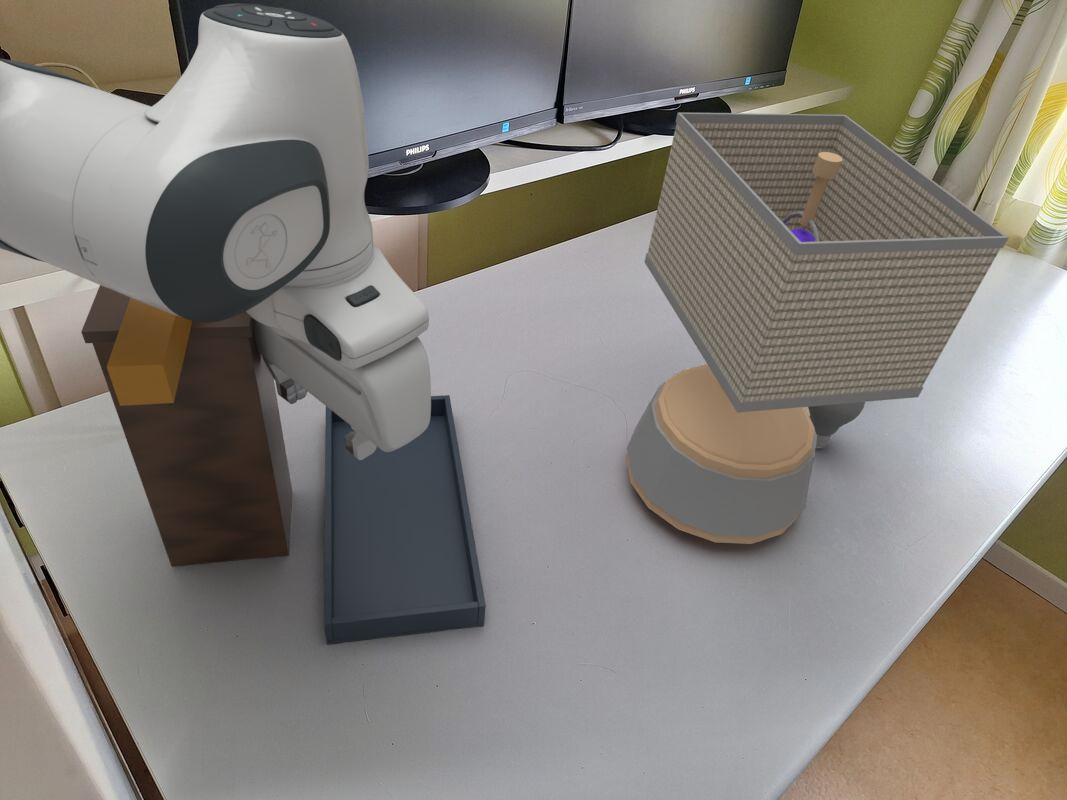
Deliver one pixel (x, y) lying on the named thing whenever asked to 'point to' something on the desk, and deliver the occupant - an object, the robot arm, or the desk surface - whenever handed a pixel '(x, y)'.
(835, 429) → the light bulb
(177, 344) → the bar
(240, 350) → the stand
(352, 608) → the tray
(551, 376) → the desk surface
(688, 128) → the desk lamp
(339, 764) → the desk surface
